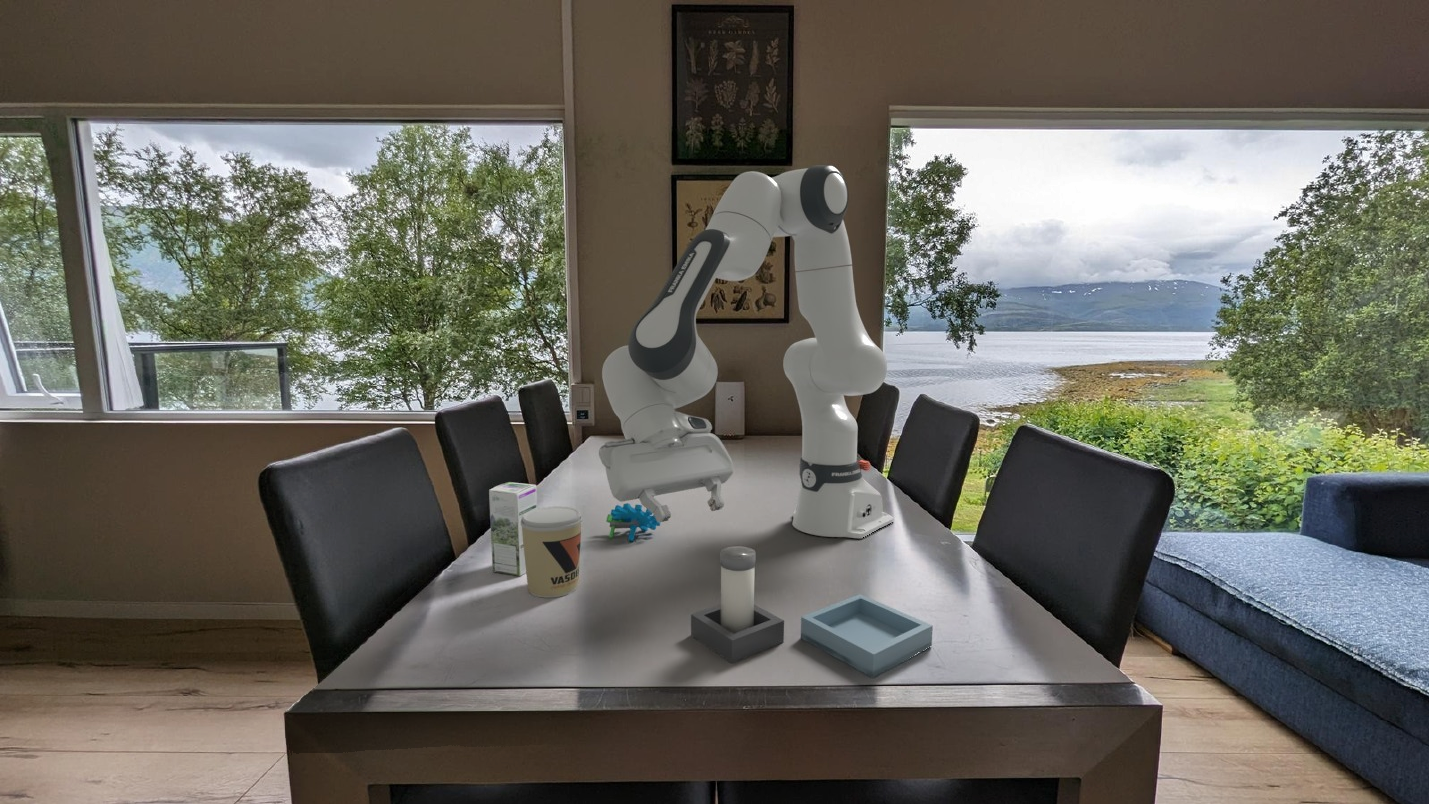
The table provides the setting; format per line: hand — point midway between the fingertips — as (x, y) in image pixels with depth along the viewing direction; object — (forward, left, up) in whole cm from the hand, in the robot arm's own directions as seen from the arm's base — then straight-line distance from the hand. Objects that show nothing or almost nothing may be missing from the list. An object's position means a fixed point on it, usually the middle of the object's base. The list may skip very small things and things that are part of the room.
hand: (692, 514), depth 90 cm
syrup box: (+15, -31, -15) cm, 37 cm away
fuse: (0, +10, -15) cm, 18 cm away
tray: (-13, +21, -15) cm, 29 cm away
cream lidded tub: (+13, -20, -15) cm, 28 cm away
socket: (0, +10, -15) cm, 18 cm away
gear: (-10, -34, -15) cm, 38 cm away
